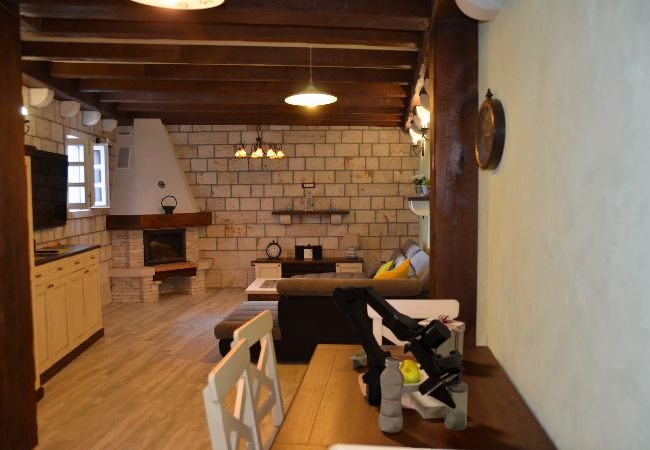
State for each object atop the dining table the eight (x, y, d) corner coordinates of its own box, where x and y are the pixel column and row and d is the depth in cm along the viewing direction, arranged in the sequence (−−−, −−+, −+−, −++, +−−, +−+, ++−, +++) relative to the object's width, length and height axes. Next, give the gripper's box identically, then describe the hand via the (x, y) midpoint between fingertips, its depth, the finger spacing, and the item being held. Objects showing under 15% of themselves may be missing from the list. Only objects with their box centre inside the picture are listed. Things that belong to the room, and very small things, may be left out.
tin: (449, 431, 148) (451, 388, 148) (440, 422, 154) (442, 381, 154) (470, 430, 149) (471, 387, 149) (460, 421, 155) (462, 380, 155)
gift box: (459, 370, 201) (461, 325, 200) (412, 362, 210) (414, 318, 209) (471, 358, 215) (473, 316, 214) (427, 351, 225) (428, 310, 224)
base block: (424, 418, 156) (424, 406, 156) (409, 402, 168) (410, 391, 168) (462, 416, 159) (462, 404, 158) (445, 400, 170) (446, 390, 170)
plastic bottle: (376, 425, 151) (378, 355, 150) (399, 425, 151) (401, 355, 150) (380, 436, 144) (382, 363, 143) (405, 435, 145) (407, 362, 144)
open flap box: (385, 364, 207) (385, 348, 207) (362, 377, 192) (363, 359, 191) (358, 359, 213) (358, 343, 213) (334, 371, 198) (334, 353, 198)
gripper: (429, 348, 146) (466, 399, 139) (459, 335, 160) (494, 380, 154) (403, 371, 151) (437, 420, 145) (434, 356, 166) (467, 400, 159)
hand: (460, 404), depth 151 cm, fingers open, 7 cm apart
